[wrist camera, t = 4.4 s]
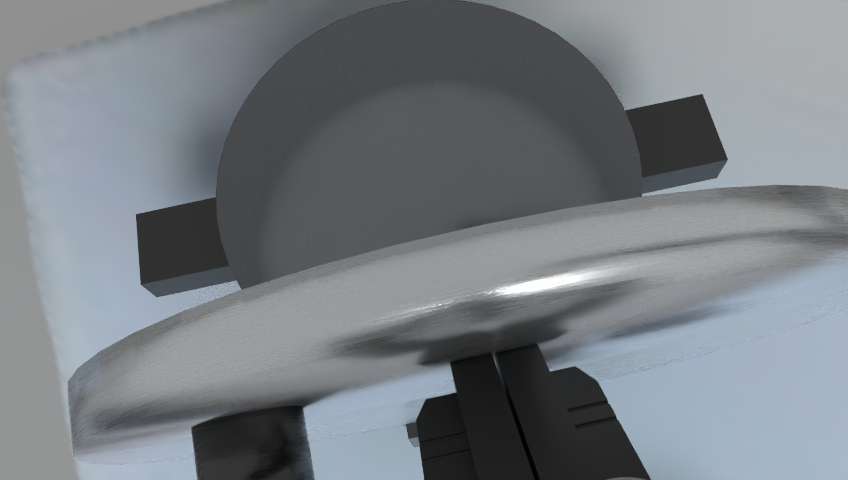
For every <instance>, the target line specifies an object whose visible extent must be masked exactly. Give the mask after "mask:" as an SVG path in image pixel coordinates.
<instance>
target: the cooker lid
mask: <svg viewBox="0 0 848 480" xmlns="http://www.w3.org/2000/svg"><path fill="white" fill-rule="evenodd" d="M846 308H848V190H846V189H839V188H832V187H826V186H798V185H768V186H750V187H731V188H715V189H706V190H697V191H688V192H679V193H670V194H661V195H651V196H644V197H637V198H631V199H624V200H618V201H611V202H605V203H598V204H592V205H585V206H579V207H573V208H566V209H561V210H556V211H551V212H546V213H541V214H535V215H530V216H525V217H520V218H515V219H510V220H504V221H499V222H494V223H489V224H484V225H479V226H475V227H471V228H466V229H462V230H458V231H453V232H449V233H445V234H440V235H436V236H432V237H427V238H423V239H419V240H415V241H410V242H406V243H402V244H397V245H393V246H390V247H386V248H382V249H379V250H375V251H371V252H368V253H364V254H360V255H357V256H353V257H349V258H345V259H342V260H338V261H334V262H331V263H327V264H323V265H320V266H316V267H313V268H309V269H306V270H303V271H300V272H297V273H294V274H290V275H287V276H284V277H281V278H278V279H275V280H271V281H268V282H265V283H262V284H259V285H255V286H252V287H249V288H246V289H243V290H240V291H237V292H234V293H232V294H229V295H226V296H224V297H221V298H218V299H215V300H213V301H210V302H207V303H205V304H202V305H199V306H197V307H194V308H191V309H188V310H186V311H183V312H180V313H178V314H176V315H174V316H171V317H169V318H167V319H164V320H162V321H160V322H158V323H155V324H153V325H151V326H149V327H146V328H144V329H142V330H139V331H137V332H135V333H133V334H131V335H129V336H127V337H125V338H124V339H122V340H120V341H118V342H116V343H115V344H113V345H111V346H109V347H107V348H106V349H104V350H102V351H100V352H98V353H97V354H96V355H95V356H93V357H92V358H91V359H89V360H88V361H87V362H85V363H84V364H83V365H81V366H80V367H79V368H78V369H77V370H76V371H75V373H74V374H73V375H72V377H71V378H70V379H69V381H68V404H69V416H70V428H71V441H72V453H73V457H74V458H75V459H77V460H79V461H81V462H87V463H93V464H139V463H153V462H165V461H175V460H186V459H195V465H196V473H197V480H315V478H314V472H313V466H312V459H311V453H310V447H309V442H312V441H318V440H324V439H329V438H335V437H341V436H346V435H352V434H357V433H363V432H368V431H374V430H379V429H384V428H389V427H394V426H400V425H405V424H410V423H415V422H416V419H417V417H418V415H419V413H420V410H421V408H422V406H423V404H424V402H425V399H429V398H433V397H438V396H443V395H447V394H452V393H456V390H455V385H454V381H453V376H452V371H451V366H450V363H453V362H458V361H462V360H467V359H471V358H476V357H480V356H485V355H489V354H492V356H493V359H494V362H495V365H496V361H495V353H498V352H502V351H507V350H511V349H516V348H521V347H525V346H530V345H534V344H537V345H538V346H539V348H540V351H541V353H542V355H543V357H544V359H545V362H546V364H547V366H548V368H549V370H550V372H551V371H555V370H560V369H564V368H569V367H573V366H576V367H577V368H579V369H580V370H582V371H583V372H585V373H586V374H588V375H589V376H591V377H592V378H594V379H595V380H597V382H599V381H603V380H607V379H612V378H616V377H619V376H623V375H627V374H631V373H635V372H639V371H643V370H647V369H651V368H654V367H658V366H662V365H666V364H670V363H673V362H677V361H681V360H684V359H688V358H692V357H695V356H699V355H702V354H706V353H710V352H713V351H717V350H720V349H724V348H727V347H730V346H734V345H737V344H741V343H744V342H747V341H751V340H754V339H757V338H761V337H764V336H767V335H770V334H774V333H777V332H780V331H783V330H786V329H789V328H792V327H795V326H798V325H801V324H804V323H807V322H810V321H813V320H816V319H819V318H822V317H824V316H827V315H830V314H833V313H835V312H838V311H841V310H843V309H846ZM496 368H497V367H496Z"/></svg>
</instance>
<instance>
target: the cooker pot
mask: <svg viewBox="0 0 848 480" xmlns="http://www.w3.org/2000/svg"><path fill="white" fill-rule="evenodd" d="M727 160H728V159H727V156H726V153H725V151H724V148H723V146H722V143H721V141H720V138H719V136H718V133H717V130H716V128H715V125H714V123H713V120H712V118H711V115H710V112H709V110H708V107H707V105H706V102H705V100H704V97H703V94H701V95H696V96H691V97H687V98H682V99H677V100H673V101H668V102H663V103H658V104H654V105H649V106H644V107H640V108H635V109H630V110H624V107H623V106H622V104H621V102H620V101H619V99H618V97H617V96H616V94H615V92H614V91H613V89H612V87H611V86H610V84H609V83H608V82H607V81H606V79H605V78H604V77H603V76H602V74H601V73H600V72H599V71H598V69H597V68H596V67H595V66H594V65H593V64H592V63H591V62H590V61H589V60H588V59H587V58H586V57H585V56H584V55H583V54H582V53H581V52H580V51H579V50H577V49H576V48H575V47H574V46H572V45H571V44H570V43H568V42H567V41H565V40H564V39H563V38H561V37H560V36H559V35H557V34H556V33H554V32H552V31H550V30H549V29H547V28H545V27H543V26H542V25H540V24H538V23H536V22H534V21H532V20H530V19H527V18H525V17H522V16H520V15H518V14H515V13H513V12H510V11H506V10H503V9H499V8H496V7H493V6H489V5H484V4H478V3H473V2H467V1H457V0H412V1H406V2H399V3H393V4H387V5H383V6H379V7H376V8H372V9H368V10H364V11H361V12H359V13H356V14H354V15H351V16H348V17H346V18H343V19H341V20H338V21H336V22H334V23H333V24H331V25H329V26H327V27H325V28H323V29H321V30H319V31H317V32H316V33H314V34H313V35H311V36H310V37H308V38H307V39H305V40H304V41H302V42H301V43H299V44H298V45H296V46H295V47H294V48H293V49H291V50H290V51H289V52H288V53H287V54H285V55H284V56H283V57H282V58H281V59H280V60H278V61H277V62H276V63H275V64H274V65H273V67H272V68H271V69H270V70H269V71H268V72H267V73H266V74H265V75H264V76H263V77H262V78H261V79H260V81H259V82H258V83H257V85H256V86H255V87H254V89H253V90H252V92H251V93H250V94H249V96H248V97H247V98H246V100H245V102H244V103H243V105H242V107H241V109H240V111H239V112H238V114H237V116H236V118H235V120H234V122H233V124H232V127H231V129H230V132H229V134H228V137H227V139H226V142H225V144H224V148H223V153H222V157H221V161H220V165H219V169H218V179H217V189H216V197H215V198H211V199H206V200H201V201H197V202H192V203H187V204H183V205H178V206H173V207H168V208H164V209H159V210H154V211H150V212H145V213H140V214H136V221H137V236H138V250H139V265H140V279H141V285H142V286H143V287H145V288H146V289H147V290H148V291H150V292H151V293H152V294H153V295H155V296H156V297H160V296H165V295H170V294H174V293H179V292H184V291H188V290H193V289H198V288H202V287H207V286H212V285H217V284H221V283H226V282H231V281H235V280H237V282H238V284H239V286H240V288H241V289H242V290H243V289H246V288H249V287H252V286H255V285H259V284H262V283H265V282H268V281H271V280H275V279H278V278H281V277H284V276H287V275H290V274H294V273H297V272H300V271H303V270H306V269H309V268H313V267H316V266H320V265H323V264H327V263H331V262H334V261H338V260H342V259H345V258H349V257H353V256H357V255H360V254H364V253H368V252H371V251H375V250H379V249H382V248H386V247H390V246H393V245H397V244H402V243H406V242H410V241H415V240H419V239H423V238H427V237H432V236H436V235H440V234H445V233H449V232H453V231H458V230H462V229H466V228H471V227H475V226H479V225H484V224H489V223H494V222H499V221H504V220H510V219H515V218H520V217H525V216H530V215H535V214H541V213H546V212H551V211H556V210H561V209H566V208H573V207H579V206H585V205H592V204H598V203H605V202H611V201H618V200H624V199H631V198H637V197H642V194H643V193H648V192H653V191H657V190H662V189H667V188H672V187H676V186H681V185H686V184H690V183H695V182H700V181H704V180H709V179H714V178H717V176H718V175H719V173H720V172H721V170H722V168H723V167H724V165H725V163H726V162H727ZM405 426H406V427H407V432H408V438H409V440H410V442H411V443H412V445H413V446H414V447H417V446H420V444H419V438H418V432H417V425H416V422H415V423H410V424H405Z"/></svg>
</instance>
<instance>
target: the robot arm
mask: <svg viewBox="0 0 848 480" xmlns="http://www.w3.org/2000/svg"><path fill="white" fill-rule="evenodd" d="M495 361H496V365H495V362H494V359H493V356H492V354H489V355H485V356H480V357H476V358H471V359H467V360H462V361H458V362H453V363H450V366H451V371H452V376H453V381H454V385H455V390H456V393H452V394H447V395H443V396H438V397H433V398H429V399H425V402H424V404H423V406H422V408H421V410H420V413H419V415H418V417H417V419H416V425H417V432H418V438H419V444H420V452H421V459H422V466H423V473H424V480H651V479H650V477H649V475H648V474H647V472H646V470H645V468H644V466H643V464H642V463H641V461H640V459H639V457H638V455H637V453H636V452H635V450H634V448H633V446H632V444H631V442H630V441H629V439H628V437H627V435H626V433H625V431H624V430H623V428H622V426H621V424H620V422H619V420H618V421H617V418H616V415H615V413H614V411H613V409H612V408H611V406H610V404H608V401H607V398H606V397H605V395H604V393H603V391H602V389H601V387H600V386H599V384H598V382H597V380H595V379H594V378H592V377H591V376H589V375H588V374H586V373H585V372H583V371H582V370H580V369H579V368H577V367H576V366H573V367H569V368H564V369H560V370H555V371H551V372H550V370H549V368H548V366H547V364H546V362H545V359H544V357H543V355H542V353H541V351H540V348H539V346H538V345H537V344H534V345H530V346H525V347H521V348H516V349H511V350H507V351H502V352H498V353H495ZM496 367H497V368H496Z"/></svg>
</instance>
